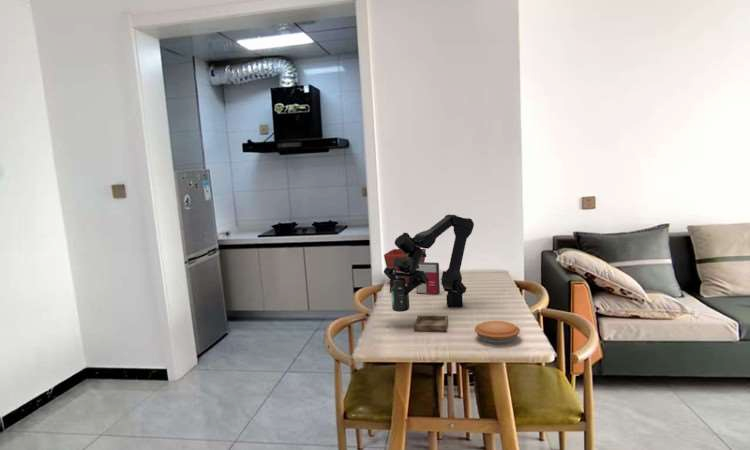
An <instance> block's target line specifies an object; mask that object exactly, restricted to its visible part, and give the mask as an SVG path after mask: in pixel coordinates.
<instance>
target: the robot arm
mask: <svg viewBox="0 0 750 450" xmlns="http://www.w3.org/2000/svg"><path fill="white" fill-rule="evenodd" d="M474 226H475V223H474V220H473V219H472V218H470V217H469V218H468V217H467V218H466V217H461V216H459V215H456V214H446V215H445V216H444V217H443V218H441V220H439V221H438V222H437V223H435V224H434V225H432V226H431V227H429V229H426V230H423V231H420V232H418V233H416V234H415V235H414V236H413V237H412V236H411V235H410V234H409V233H408V232H403V233H402V234H401V235H399V236H397V237H396V238H395V240H394V245H395V246H396V247H397V249H400V250H401V251H402V252H403V253H404V254H407V253H408V254H407V256H406V258H397V257H395V258H394V262H393V265H394V266H397V267H398V270H400V272H398V271H396V270H395V268H391V267H387V266H386V267H385V268H384V269H383V274H384V275H386V277H387V278H388V279H389V280H390V281H389V282H390V283H389V293H390V294H391V288H392V287H393V286H394V285H393V279H396V278H399V277H407V278H409V282H408V284H406V286H407V287H406V289H405V292H404V295H407V294H408V293H409V294H410V293H411V292H412V291H413V290H415V289H417V286H419V285H421V284H427V283H428V281H429V278H428V276H427V275H426V274H425V272H424V271H420V270H416V269H419V266H418V264H419V262H420V260H421V257H425V258H427V253H425V251H422V250H421V249H431V247H432V246H433V245H434V244H435V242H436V240H437V238H438V237H440V236H441V235H442V234H444V232H446V231H448V229H449V228H451V227H453V233H454V236H455V237H454V241H453V243H454V244H453V246H452V252H451V254H450V255H451V256H450V261H449V265H448V268H447V269H446V270H445V271H442V274H441V279H440V280H441V285H442V288H443V290H444V292H447V294H446V297H445V298H446V306H447V308H463V307H464V302H463V301H464V299H463V294H465V293H466V292H467V287H466V286H465V284H464V283H463V281H462V280H463V276H462V273H461V268H462V267H461V266H462V264H463V262H462V261H463V258H464V253H465V248H466V244H467V240H468V238H469V237H470V236H471V235H472V232H473V231H474Z"/></svg>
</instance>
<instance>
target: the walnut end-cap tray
mask: <svg viewBox="0 0 750 450" xmlns="http://www.w3.org/2000/svg"><path fill="white" fill-rule="evenodd" d="M413 326H414V327H413V328H414V330H413V331H414V332H420V333H422V332H423V333H431V332H432V333H446V332H447V330H448V326H449V315H446V314H445V315H434V314H433V315H431V314H430V315H429V314H426V315H425V314H424V315H421V314H420V315H417V317H416V320H415V322H414V325H413Z"/></svg>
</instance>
